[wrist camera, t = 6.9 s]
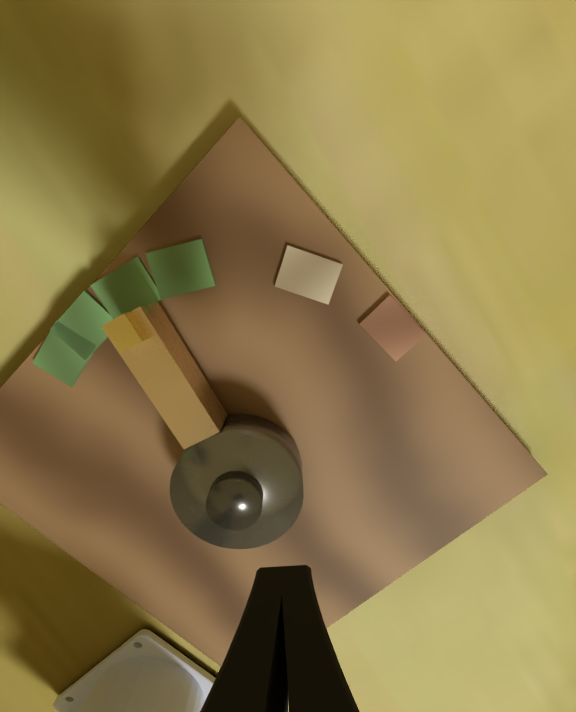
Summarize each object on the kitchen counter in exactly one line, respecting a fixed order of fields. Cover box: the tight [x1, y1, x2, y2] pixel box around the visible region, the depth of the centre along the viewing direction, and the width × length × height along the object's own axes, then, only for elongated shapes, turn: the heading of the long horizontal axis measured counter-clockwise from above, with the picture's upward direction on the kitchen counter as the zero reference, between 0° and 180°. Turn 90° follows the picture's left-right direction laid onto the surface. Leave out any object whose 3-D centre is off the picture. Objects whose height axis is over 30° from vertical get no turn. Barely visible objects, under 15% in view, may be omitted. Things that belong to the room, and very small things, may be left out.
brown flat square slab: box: [0, 117, 548, 666], centre depth 18 cm, size 22×22×1 cm
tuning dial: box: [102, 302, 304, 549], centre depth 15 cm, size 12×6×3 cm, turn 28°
